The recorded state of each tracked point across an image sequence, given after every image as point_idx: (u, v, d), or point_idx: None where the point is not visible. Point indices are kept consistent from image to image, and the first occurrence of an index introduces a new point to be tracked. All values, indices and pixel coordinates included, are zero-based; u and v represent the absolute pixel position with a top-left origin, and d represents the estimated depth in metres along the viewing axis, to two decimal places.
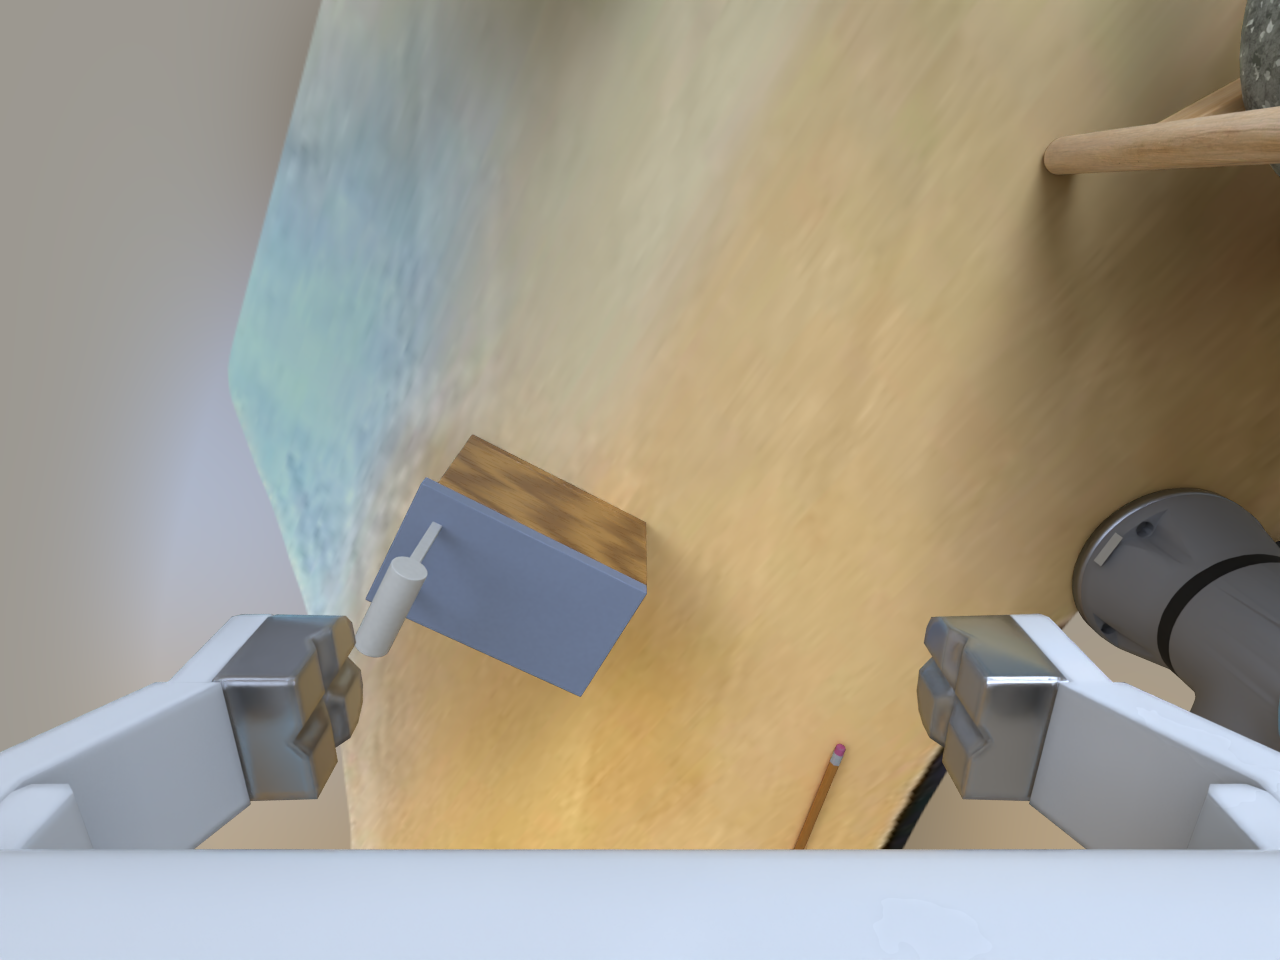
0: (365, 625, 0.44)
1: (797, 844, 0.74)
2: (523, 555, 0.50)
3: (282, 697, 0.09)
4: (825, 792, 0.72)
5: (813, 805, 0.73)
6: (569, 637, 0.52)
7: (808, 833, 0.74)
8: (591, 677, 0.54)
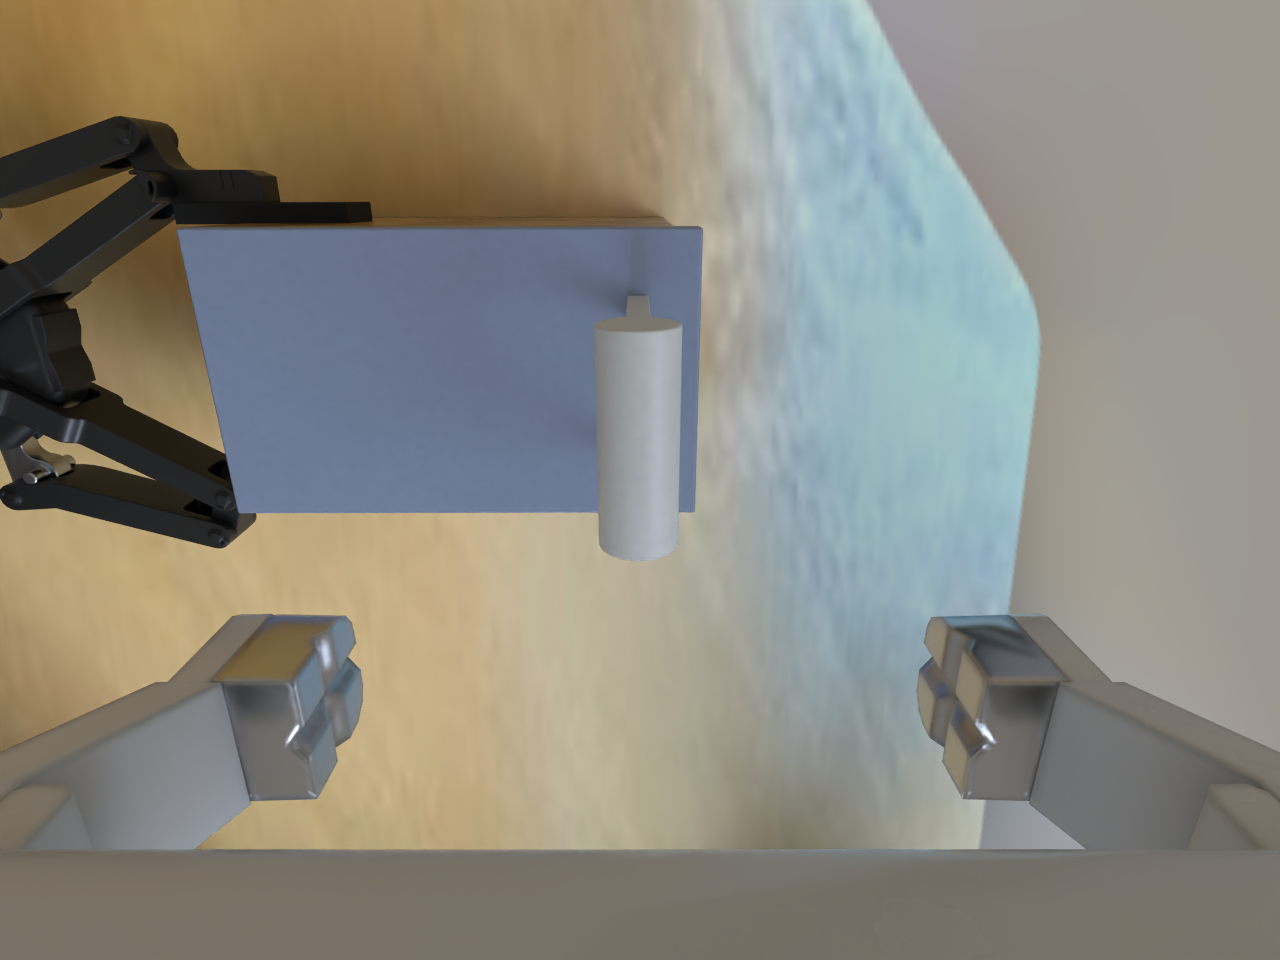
0: (669, 398, 0.18)
1: None
2: (471, 475, 0.27)
3: (282, 697, 0.09)
4: None
5: None
6: (293, 358, 0.25)
7: None
8: (192, 290, 0.24)
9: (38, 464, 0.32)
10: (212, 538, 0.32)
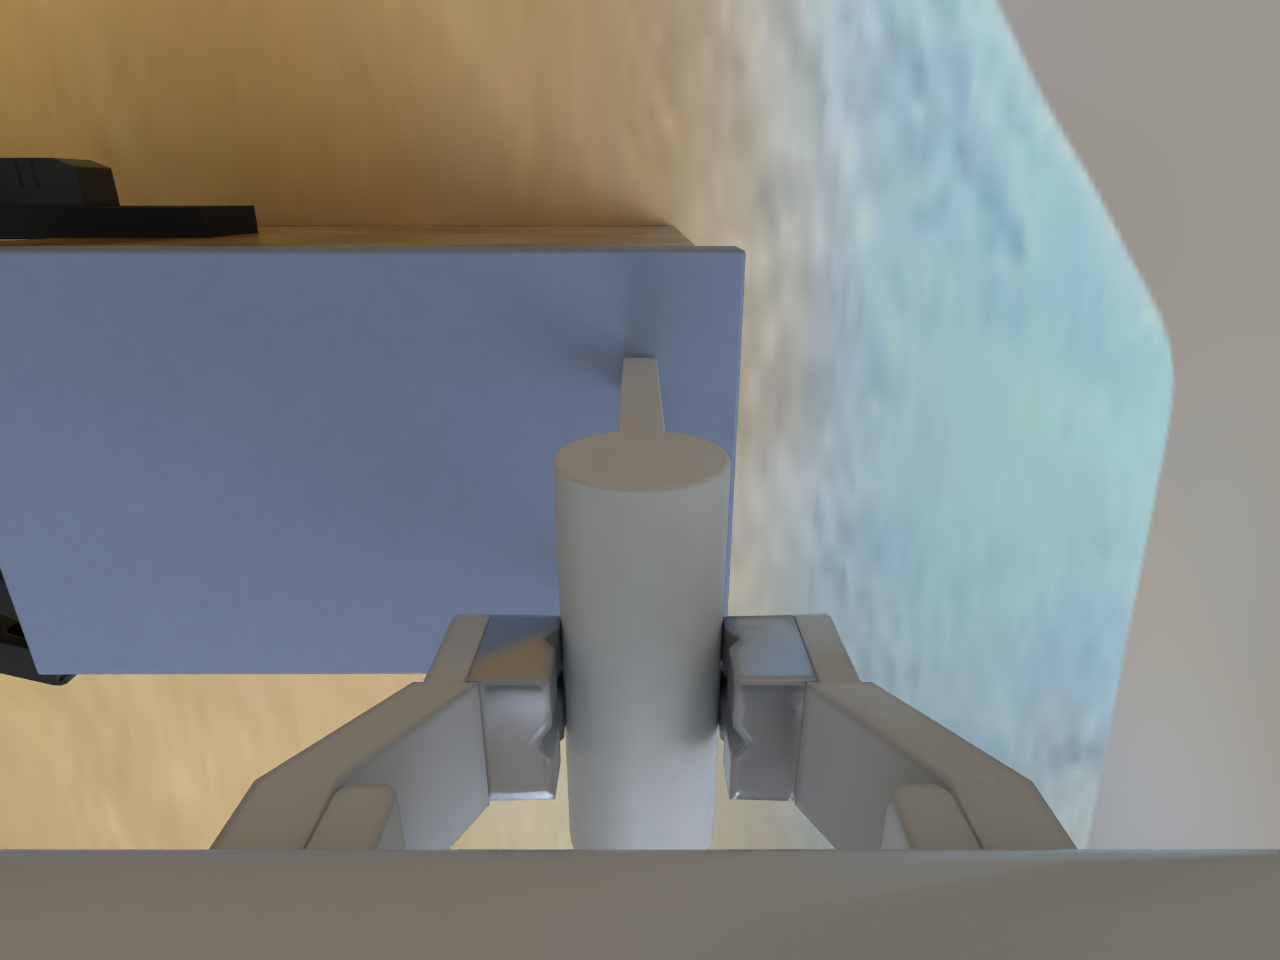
0: (704, 609, 0.09)
1: None
2: (386, 622, 0.18)
3: (534, 697, 0.09)
4: None
5: None
6: (99, 452, 0.16)
7: None
8: None
9: None
10: None
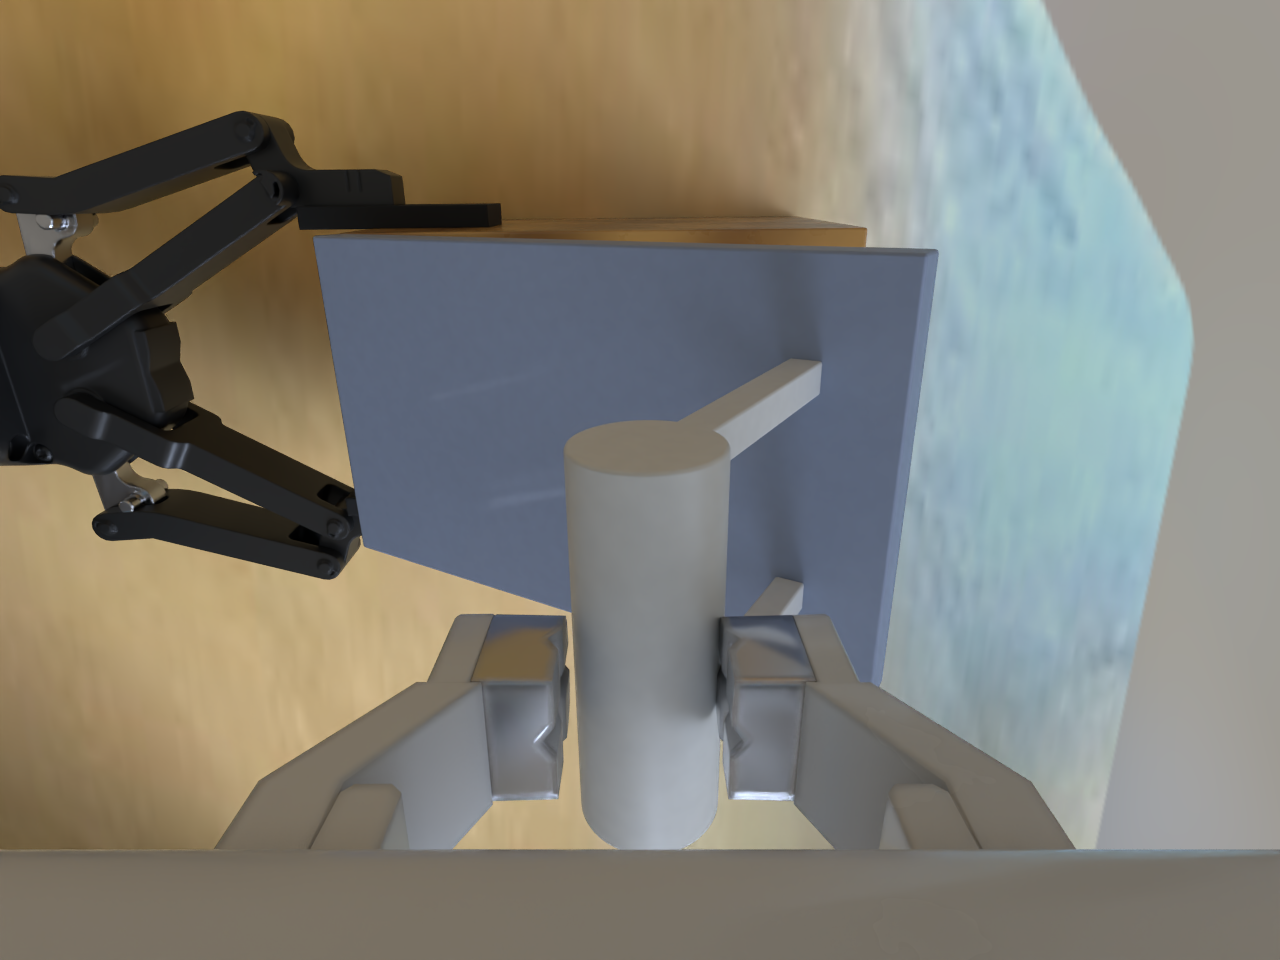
0: (670, 599, 0.09)
1: None
2: None
3: (538, 697, 0.09)
4: None
5: None
6: (405, 390, 0.21)
7: None
8: (325, 304, 0.22)
9: (133, 491, 0.30)
10: (321, 569, 0.30)
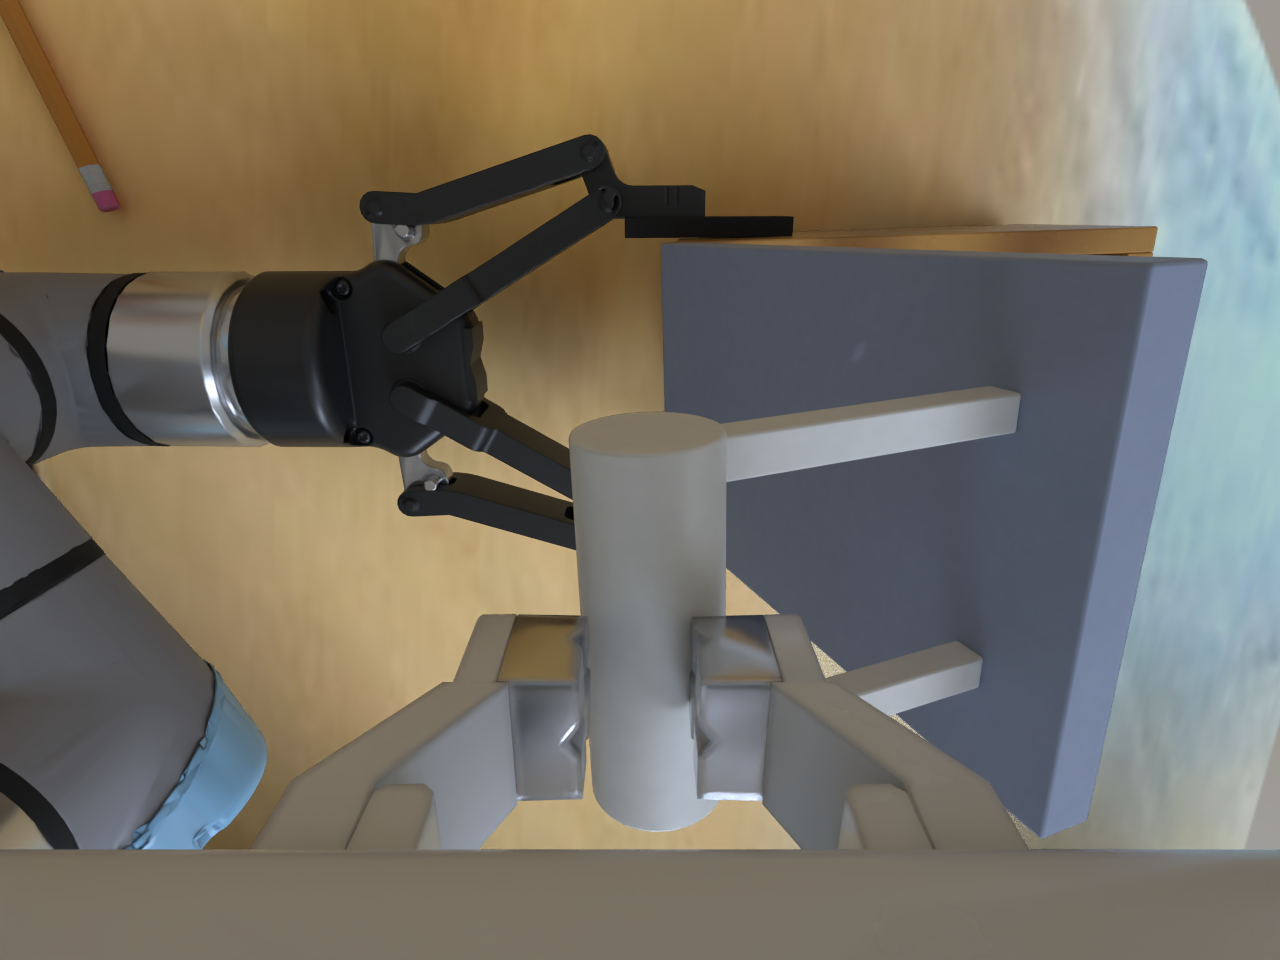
0: (618, 575, 0.10)
1: None
2: (794, 577, 0.20)
3: (564, 697, 0.09)
4: (42, 88, 0.33)
5: (31, 35, 0.33)
6: (701, 382, 0.24)
7: None
8: (663, 302, 0.25)
9: (432, 472, 0.33)
10: None
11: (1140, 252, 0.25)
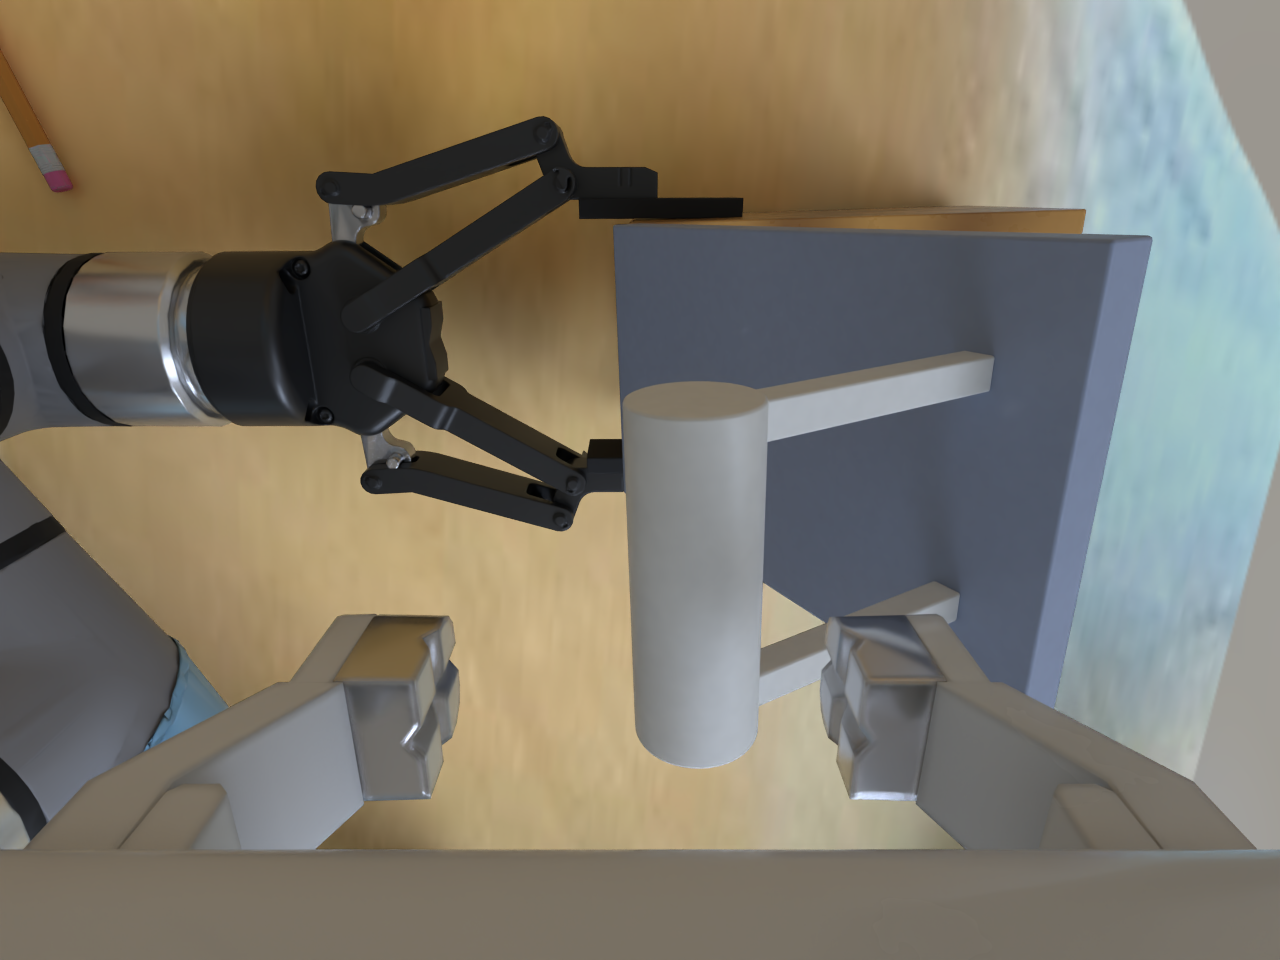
0: (680, 532, 0.11)
1: None
2: (766, 538, 0.21)
3: (402, 697, 0.09)
4: None
5: None
6: (660, 359, 0.24)
7: None
8: (616, 282, 0.26)
9: (394, 450, 0.34)
10: (557, 521, 0.34)
11: None
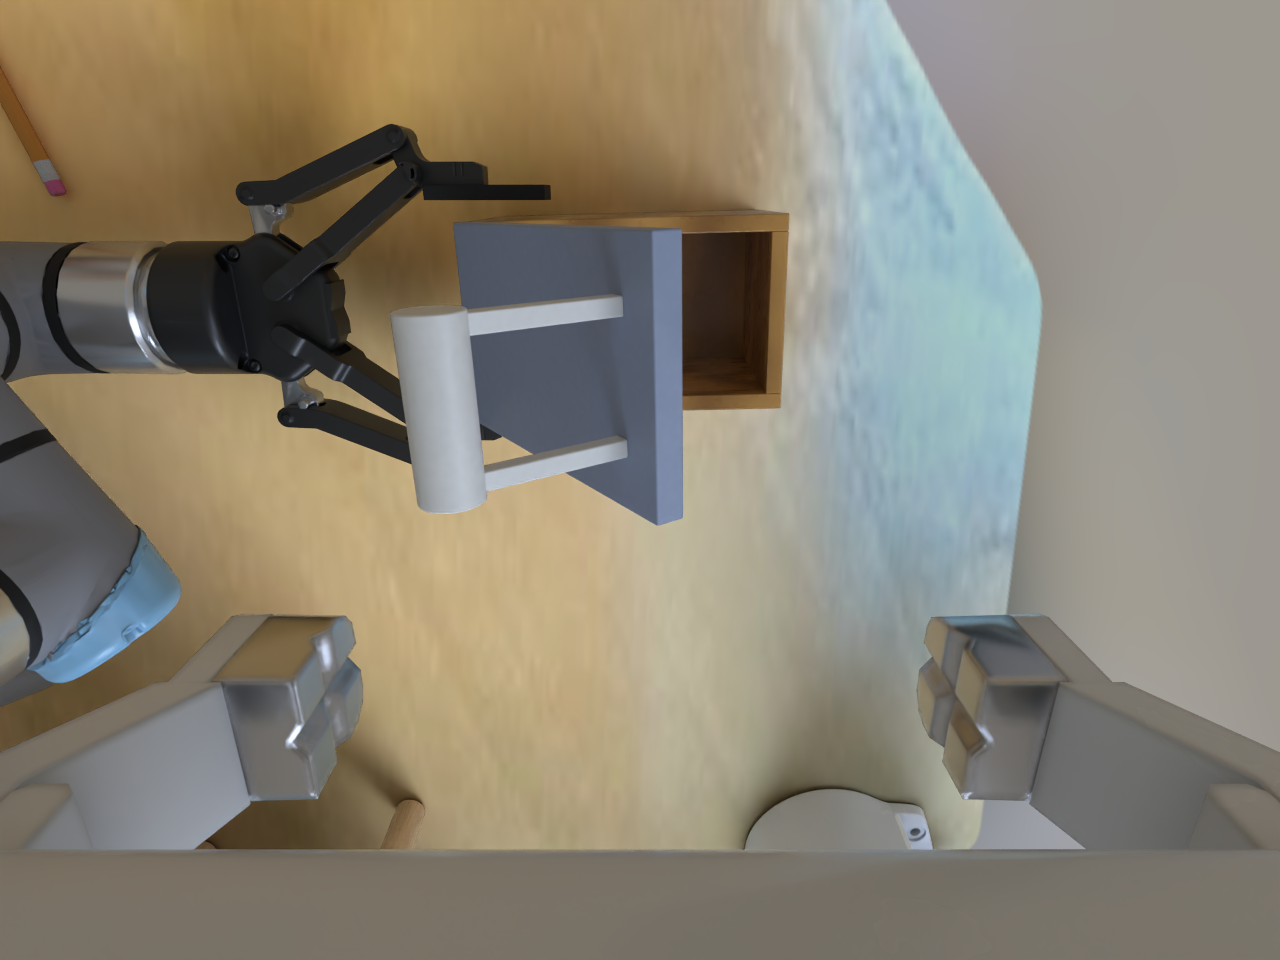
0: (418, 376, 0.21)
1: None
2: (548, 432, 0.32)
3: (282, 697, 0.09)
4: (3, 101, 0.43)
5: None
6: None
7: None
8: (458, 264, 0.36)
9: (306, 395, 0.44)
10: None
11: (780, 230, 0.37)
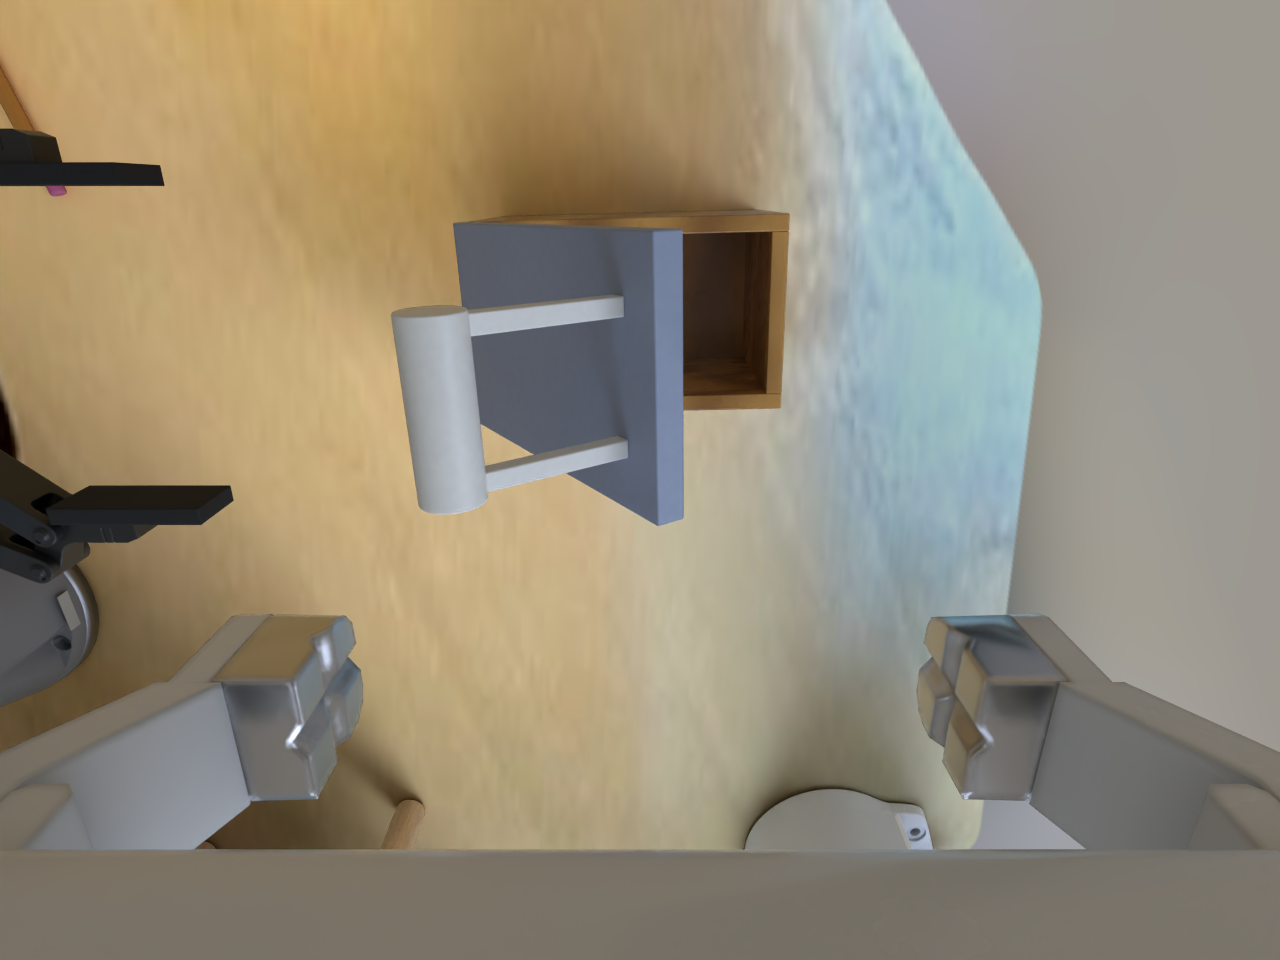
0: (419, 377, 0.21)
1: None
2: (548, 432, 0.32)
3: (282, 697, 0.09)
4: (3, 101, 0.43)
5: None
6: None
7: None
8: (458, 264, 0.36)
9: None
10: (33, 573, 0.32)
11: (780, 231, 0.37)
